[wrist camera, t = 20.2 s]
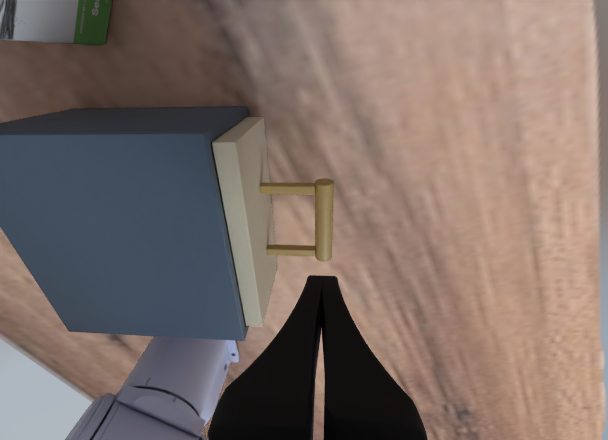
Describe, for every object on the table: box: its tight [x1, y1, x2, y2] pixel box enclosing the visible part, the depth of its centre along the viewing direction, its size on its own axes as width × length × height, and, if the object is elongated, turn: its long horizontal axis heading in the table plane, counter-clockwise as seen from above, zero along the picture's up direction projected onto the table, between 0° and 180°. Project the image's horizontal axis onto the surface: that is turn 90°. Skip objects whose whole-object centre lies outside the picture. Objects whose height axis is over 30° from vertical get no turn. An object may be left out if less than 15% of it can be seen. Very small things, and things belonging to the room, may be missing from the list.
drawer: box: [210, 117, 334, 327], centre depth 20 cm, size 17×13×7 cm
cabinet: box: [0, 106, 250, 341], centre depth 20 cm, size 13×14×8 cm
